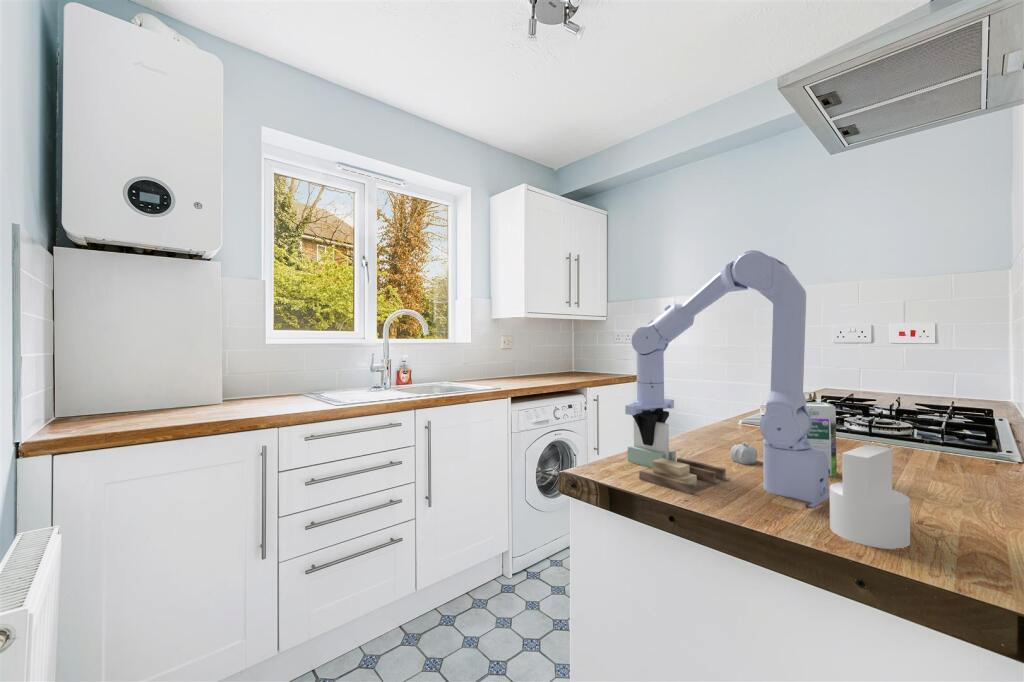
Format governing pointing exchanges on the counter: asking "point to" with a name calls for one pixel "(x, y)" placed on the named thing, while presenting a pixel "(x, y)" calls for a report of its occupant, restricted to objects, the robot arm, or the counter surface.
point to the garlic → (743, 453)
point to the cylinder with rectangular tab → (869, 501)
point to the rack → (704, 472)
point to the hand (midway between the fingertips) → (650, 444)
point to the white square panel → (659, 438)
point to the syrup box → (823, 432)
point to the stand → (647, 456)
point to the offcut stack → (674, 470)
